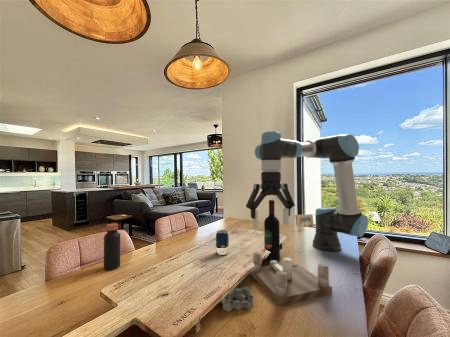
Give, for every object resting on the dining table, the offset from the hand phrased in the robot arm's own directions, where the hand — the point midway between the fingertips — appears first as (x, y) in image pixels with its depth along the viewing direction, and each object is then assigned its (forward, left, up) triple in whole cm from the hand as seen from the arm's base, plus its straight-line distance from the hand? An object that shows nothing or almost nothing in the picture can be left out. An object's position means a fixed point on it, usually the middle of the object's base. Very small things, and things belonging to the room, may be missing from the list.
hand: (270, 225), depth 80 cm
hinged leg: (-7, -4, -21) cm, 22 cm away
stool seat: (-8, 0, -24) cm, 25 cm away
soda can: (+8, -37, -24) cm, 45 cm away
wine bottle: (-14, -22, -24) cm, 35 cm away
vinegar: (+62, -38, -24) cm, 77 cm away
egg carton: (+16, +5, -24) cm, 29 cm away
